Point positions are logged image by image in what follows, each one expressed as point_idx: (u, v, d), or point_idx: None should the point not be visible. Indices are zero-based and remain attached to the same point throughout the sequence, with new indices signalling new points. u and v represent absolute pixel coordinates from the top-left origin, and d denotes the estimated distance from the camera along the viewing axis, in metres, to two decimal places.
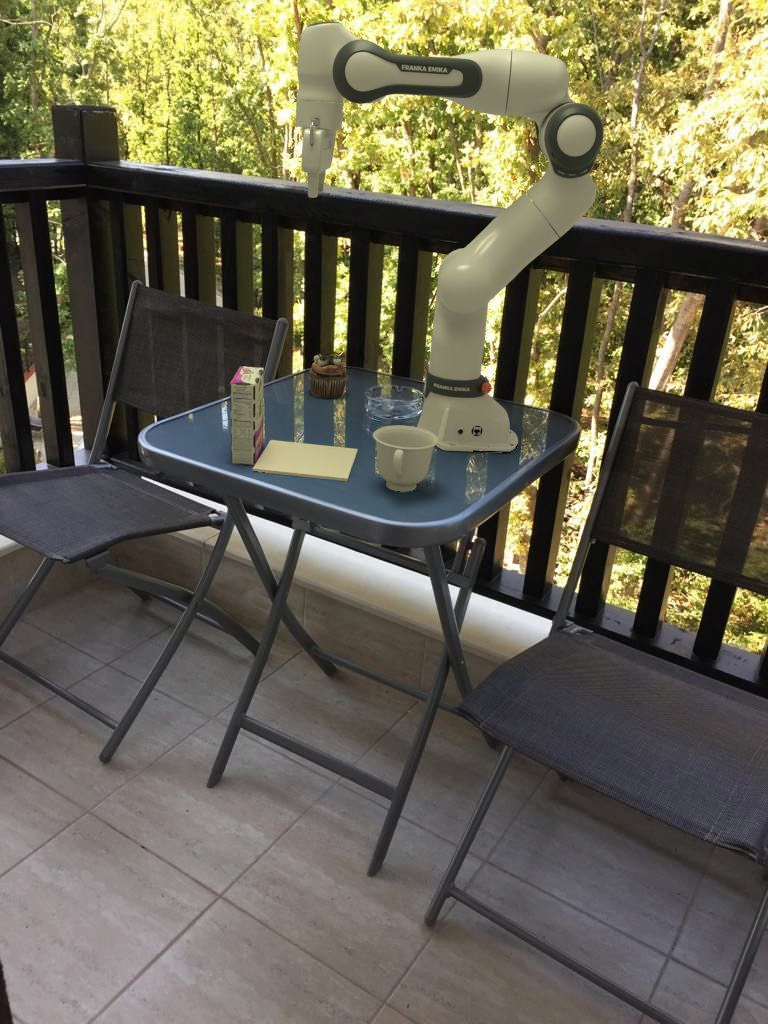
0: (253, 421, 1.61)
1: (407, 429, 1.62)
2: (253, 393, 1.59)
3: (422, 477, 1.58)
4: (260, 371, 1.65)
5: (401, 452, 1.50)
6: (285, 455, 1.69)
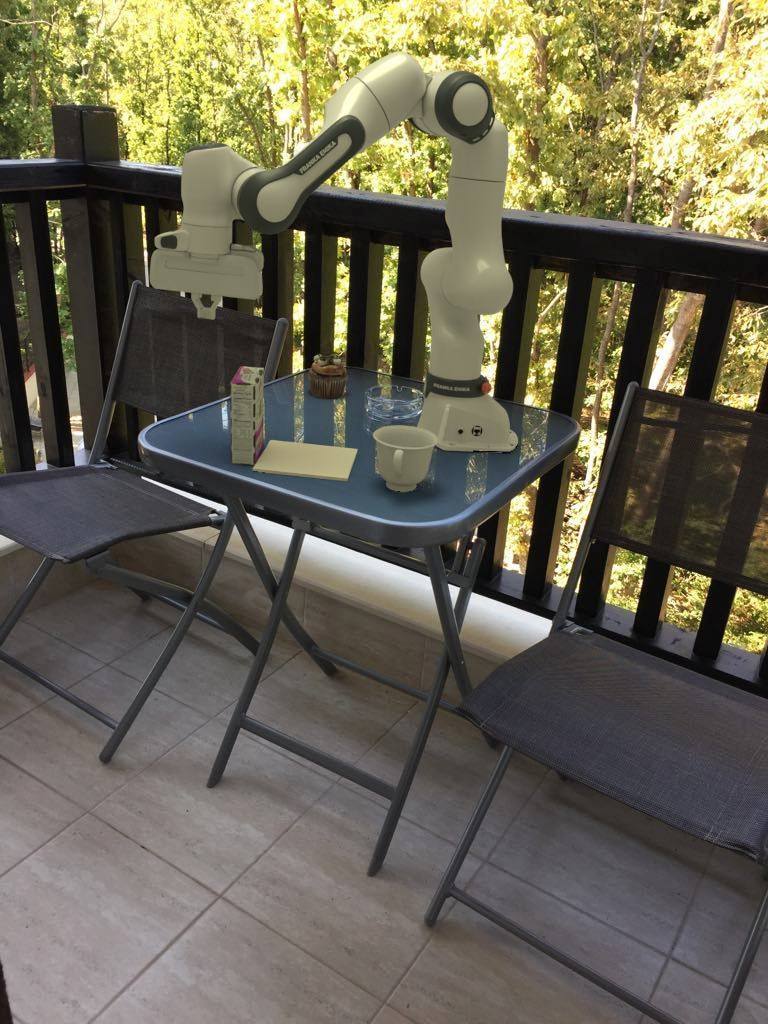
0: (253, 421, 1.61)
1: (407, 429, 1.62)
2: (253, 393, 1.59)
3: (422, 477, 1.58)
4: (260, 371, 1.65)
5: (401, 452, 1.50)
6: (285, 455, 1.69)
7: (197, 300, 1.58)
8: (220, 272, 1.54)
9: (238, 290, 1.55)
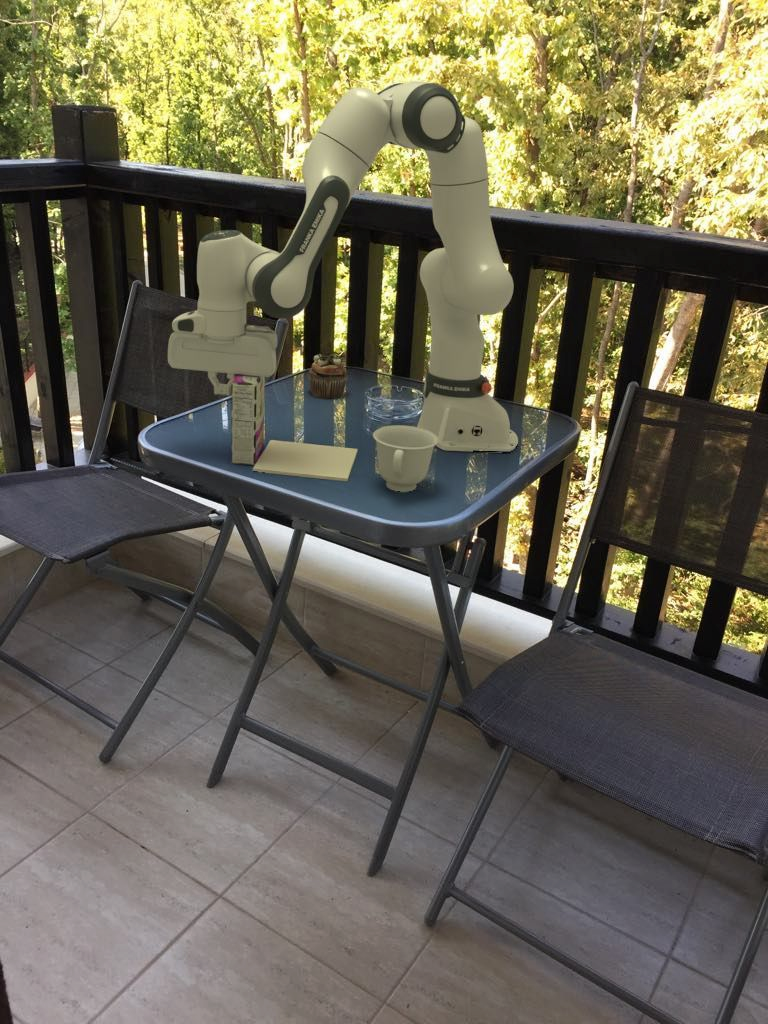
0: (254, 421, 1.61)
1: (407, 429, 1.62)
2: (254, 393, 1.59)
3: (422, 477, 1.58)
4: None
5: (401, 452, 1.50)
6: (285, 455, 1.69)
7: (213, 378, 1.63)
8: (235, 352, 1.60)
9: (253, 369, 1.60)
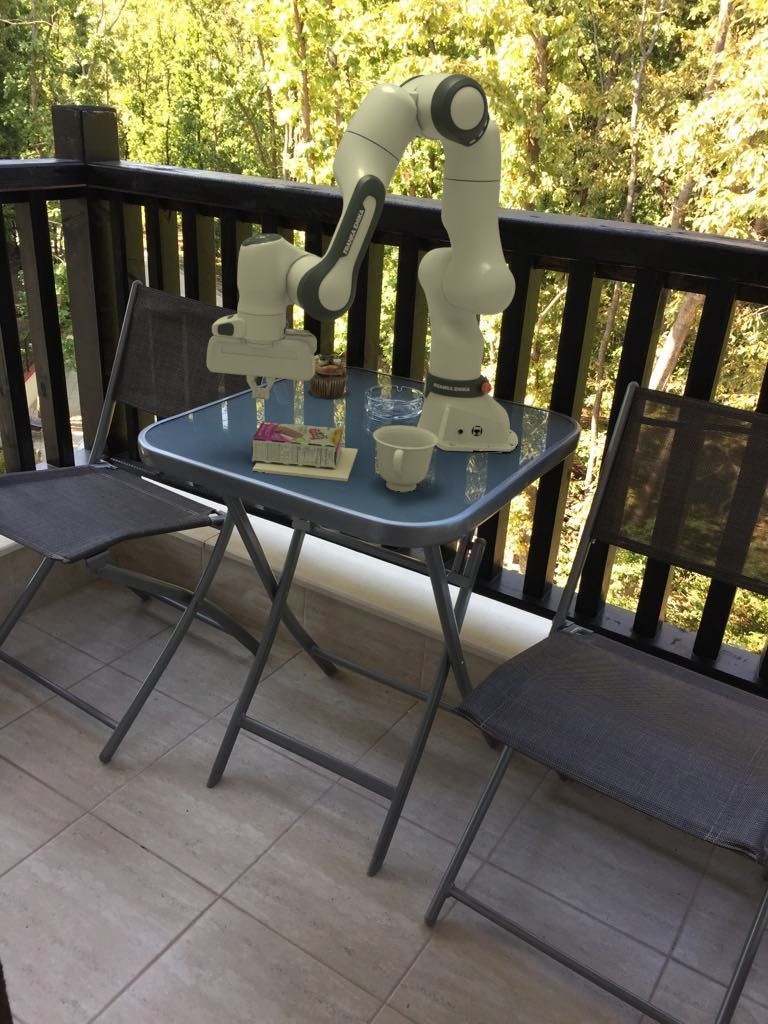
0: (297, 464, 1.64)
1: (407, 429, 1.62)
2: (326, 467, 1.64)
3: (422, 477, 1.58)
4: None
5: (401, 452, 1.50)
6: None
7: (252, 381, 1.63)
8: (275, 356, 1.59)
9: (292, 373, 1.60)
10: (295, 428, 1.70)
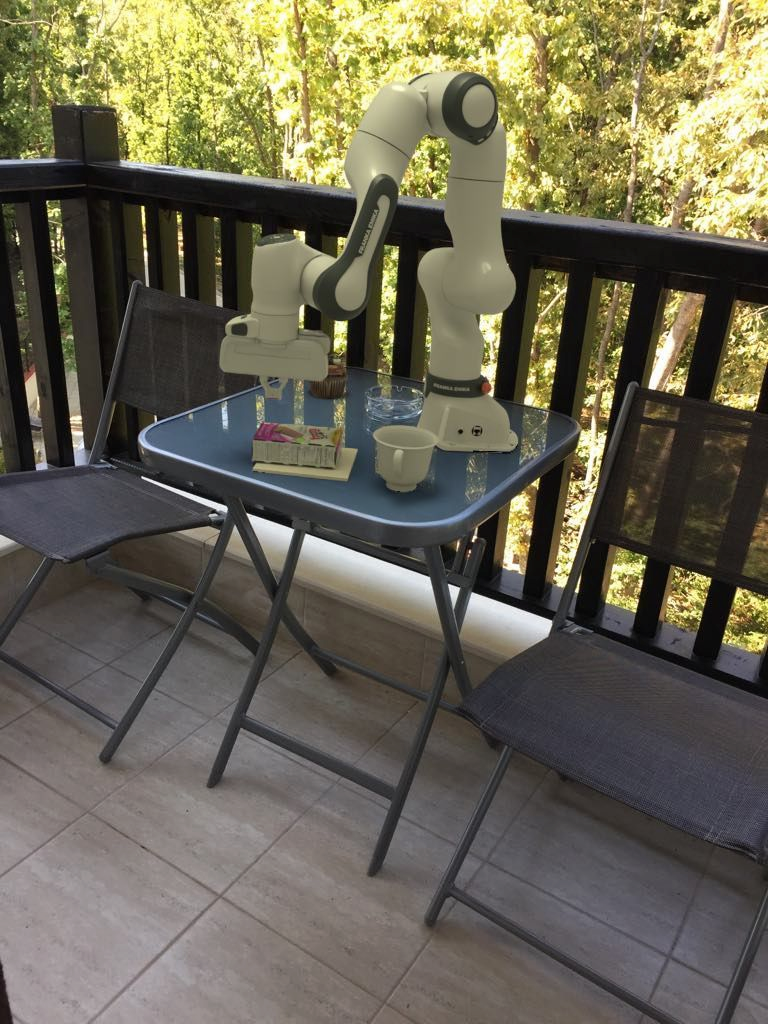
0: (297, 464, 1.64)
1: (407, 429, 1.62)
2: (326, 467, 1.64)
3: (422, 477, 1.58)
4: None
5: (401, 452, 1.50)
6: None
7: (265, 382, 1.63)
8: (288, 356, 1.59)
9: (305, 373, 1.60)
10: (295, 428, 1.70)
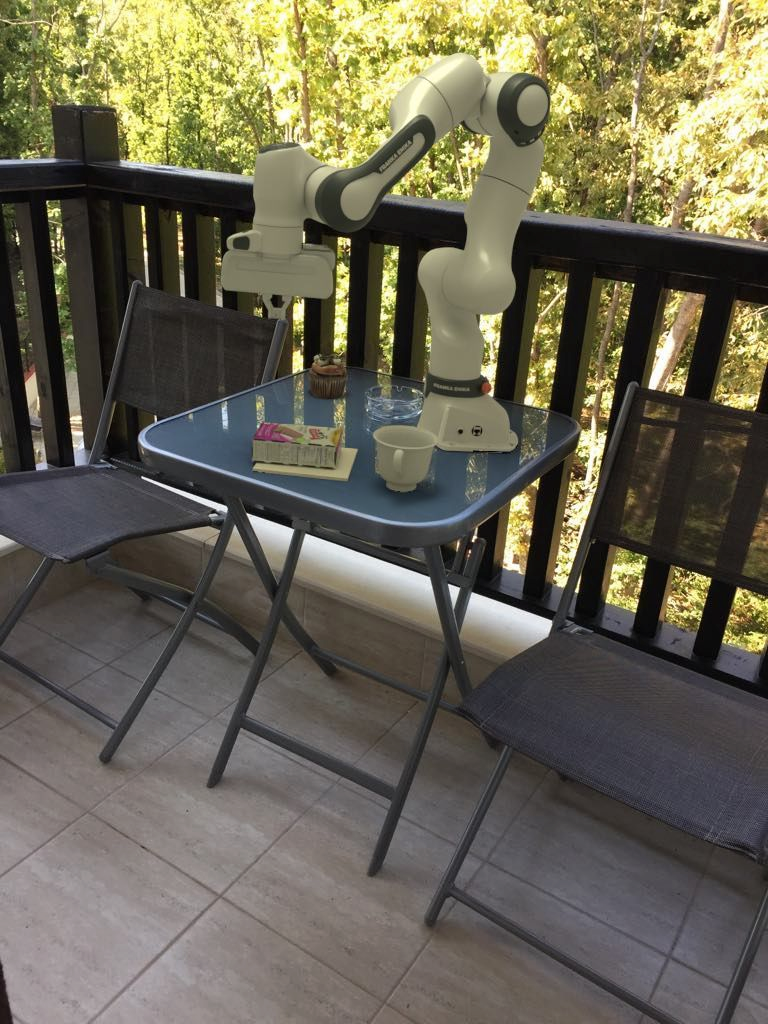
0: (297, 464, 1.64)
1: (407, 429, 1.62)
2: (326, 467, 1.64)
3: (422, 477, 1.58)
4: None
5: (401, 452, 1.50)
6: None
7: (268, 301, 1.58)
8: (292, 272, 1.54)
9: (310, 290, 1.55)
10: (295, 428, 1.70)
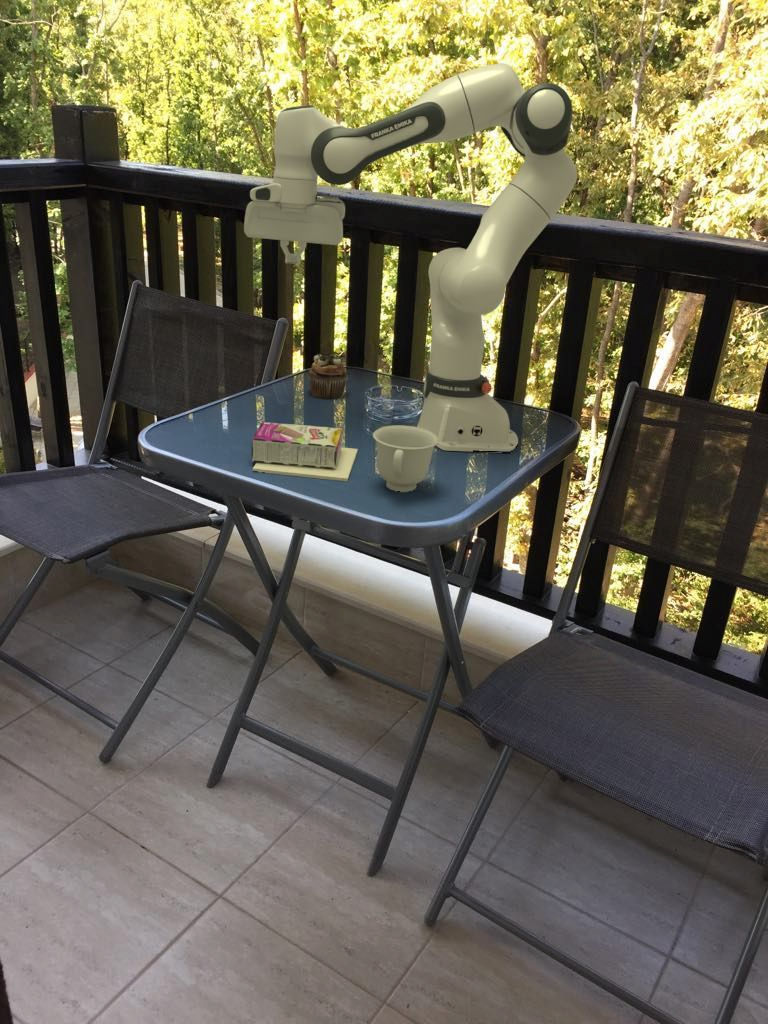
0: (297, 464, 1.64)
1: (407, 429, 1.62)
2: (326, 467, 1.64)
3: (422, 477, 1.58)
4: None
5: (401, 452, 1.50)
6: None
7: (285, 247, 1.78)
8: (307, 221, 1.75)
9: (322, 237, 1.76)
10: (295, 428, 1.70)
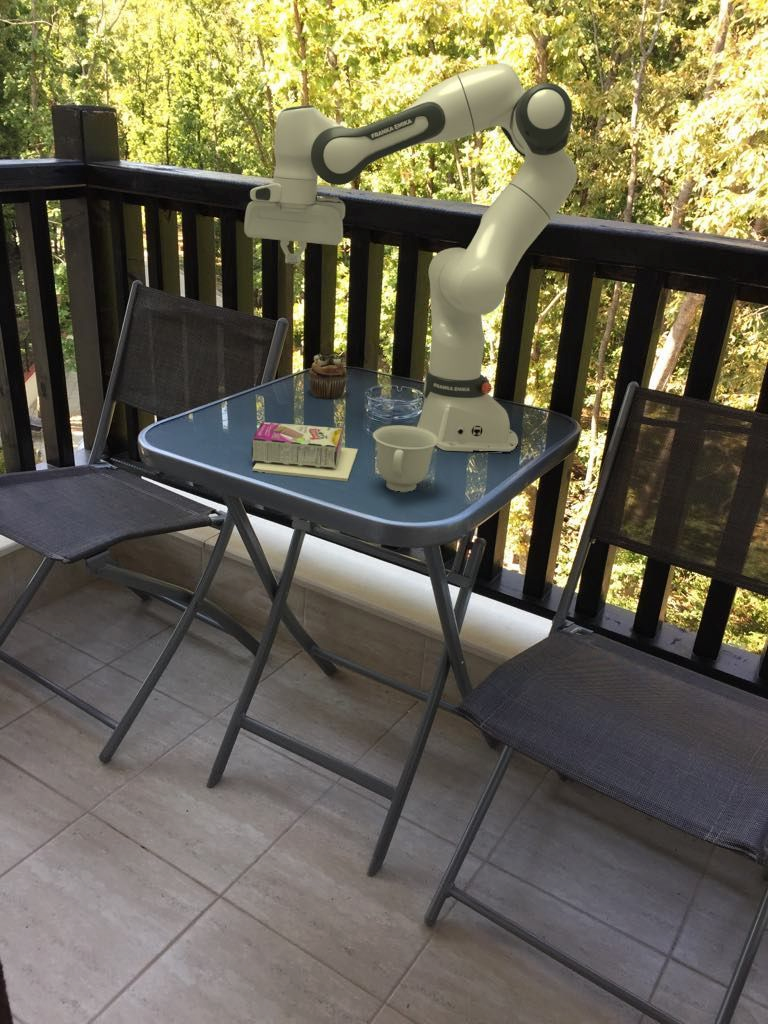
0: (297, 464, 1.64)
1: (407, 429, 1.62)
2: (326, 467, 1.64)
3: (422, 477, 1.58)
4: None
5: (401, 452, 1.50)
6: None
7: (285, 247, 1.78)
8: (307, 221, 1.75)
9: (322, 237, 1.76)
10: (295, 428, 1.70)
